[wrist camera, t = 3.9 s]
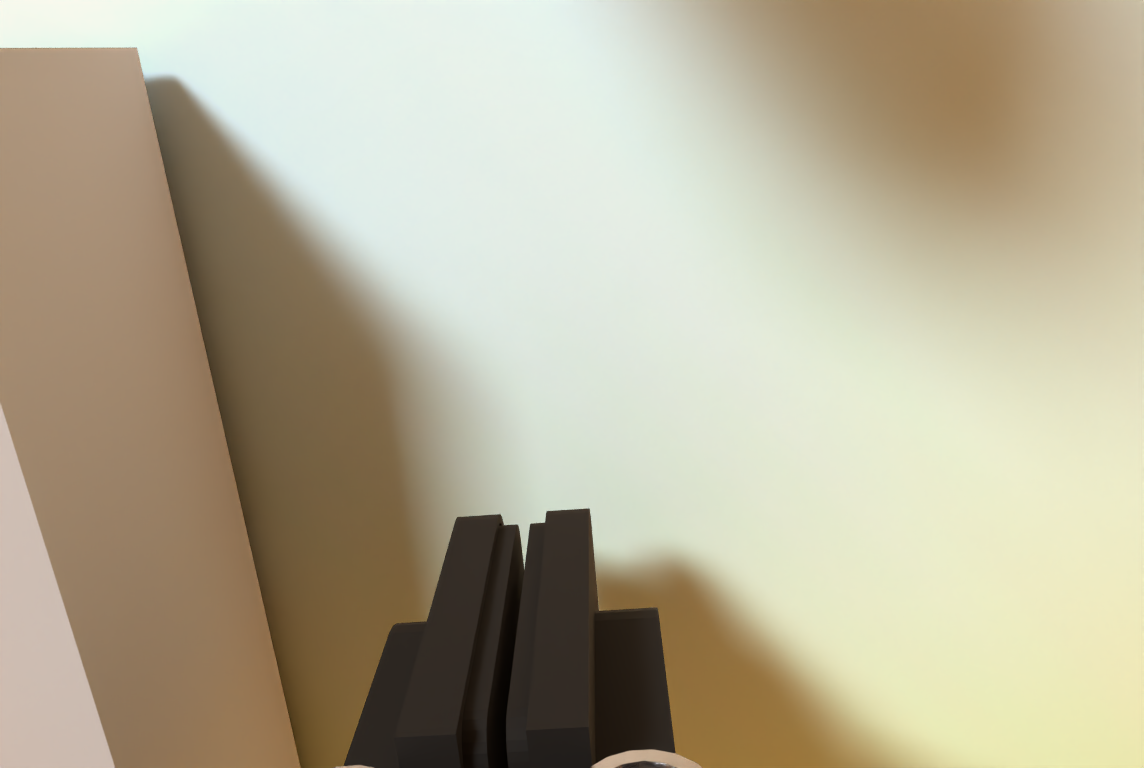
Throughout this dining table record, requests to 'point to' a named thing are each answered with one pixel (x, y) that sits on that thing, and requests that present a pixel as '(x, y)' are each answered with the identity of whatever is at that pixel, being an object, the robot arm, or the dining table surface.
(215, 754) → the socket block
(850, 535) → the dining table surface
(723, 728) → the dining table surface
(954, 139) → the dining table surface
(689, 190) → the dining table surface
